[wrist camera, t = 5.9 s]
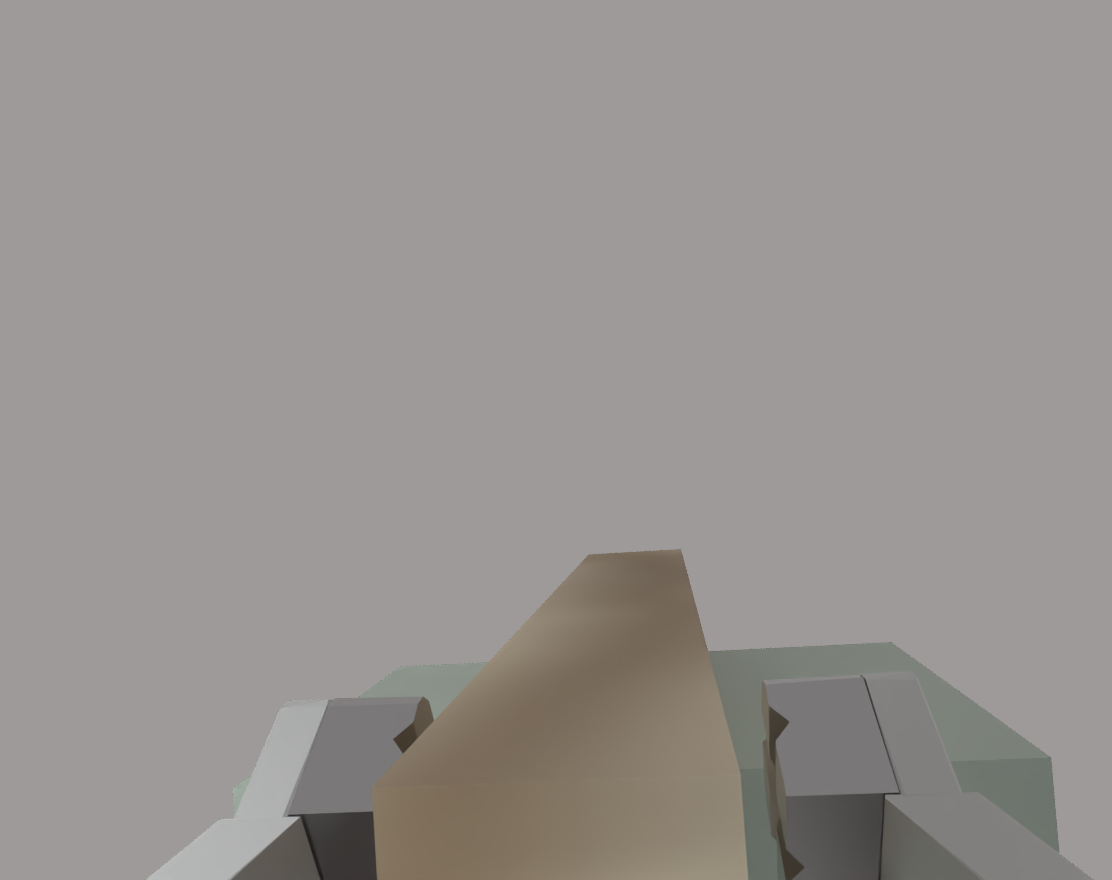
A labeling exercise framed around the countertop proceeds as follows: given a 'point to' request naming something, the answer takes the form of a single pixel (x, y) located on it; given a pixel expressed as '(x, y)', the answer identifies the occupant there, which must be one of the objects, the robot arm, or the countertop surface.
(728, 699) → the pedestal
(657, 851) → the birch bar
